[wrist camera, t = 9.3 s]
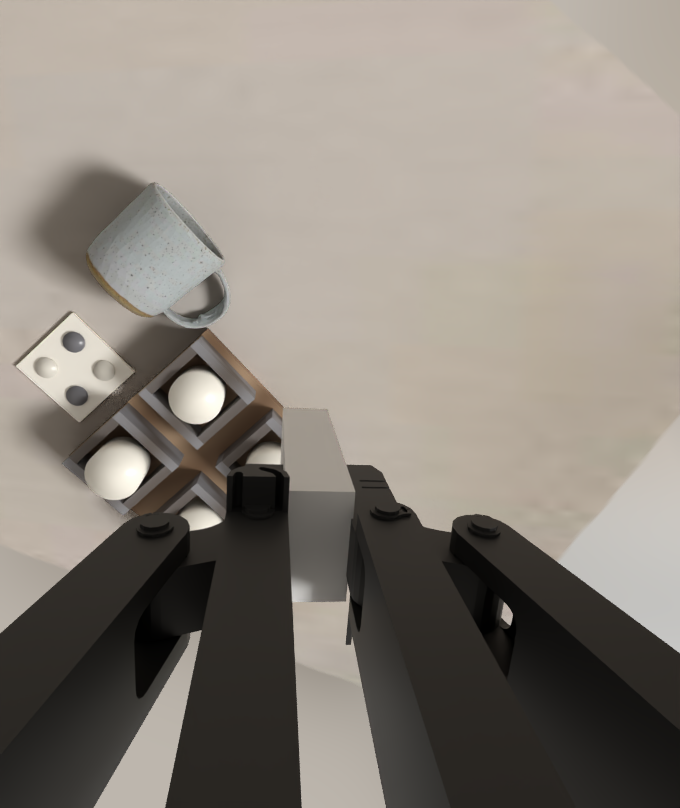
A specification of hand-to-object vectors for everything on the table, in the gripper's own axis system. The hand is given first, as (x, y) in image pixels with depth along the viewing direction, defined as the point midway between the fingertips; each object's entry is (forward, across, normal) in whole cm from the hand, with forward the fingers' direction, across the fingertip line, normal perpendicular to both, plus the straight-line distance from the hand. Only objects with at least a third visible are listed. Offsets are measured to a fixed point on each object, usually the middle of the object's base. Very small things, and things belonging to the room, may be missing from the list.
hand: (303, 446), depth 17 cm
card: (+30, -18, -4) cm, 36 cm away
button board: (+30, -7, -12) cm, 33 cm away
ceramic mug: (+31, -10, +5) cm, 33 cm away
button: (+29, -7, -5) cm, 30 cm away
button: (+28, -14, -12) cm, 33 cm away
